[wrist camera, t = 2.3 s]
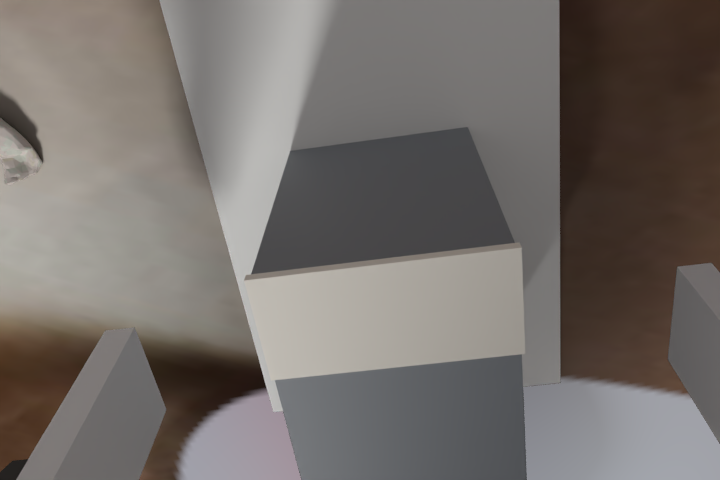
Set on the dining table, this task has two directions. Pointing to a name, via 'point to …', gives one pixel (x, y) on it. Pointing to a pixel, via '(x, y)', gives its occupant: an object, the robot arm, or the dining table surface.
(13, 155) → the tweezers
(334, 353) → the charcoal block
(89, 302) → the dining table surface
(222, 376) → the dining table surface
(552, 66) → the flat white strip
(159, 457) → the dining table surface
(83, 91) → the dining table surface
